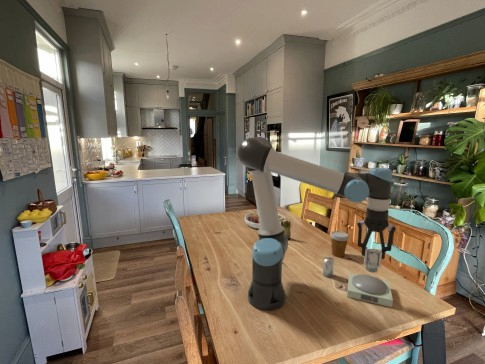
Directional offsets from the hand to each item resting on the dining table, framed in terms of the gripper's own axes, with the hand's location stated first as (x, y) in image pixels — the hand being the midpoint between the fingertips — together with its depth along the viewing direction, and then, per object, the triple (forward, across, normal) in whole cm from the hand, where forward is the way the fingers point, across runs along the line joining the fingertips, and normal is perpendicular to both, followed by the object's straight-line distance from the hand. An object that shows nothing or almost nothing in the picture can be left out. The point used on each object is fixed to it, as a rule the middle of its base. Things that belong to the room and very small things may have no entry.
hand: (372, 264), depth 103 cm
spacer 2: (+2, 0, 0) cm, 2 cm away
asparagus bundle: (+14, +46, -44) cm, 65 cm away
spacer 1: (+14, +17, -10) cm, 24 cm away
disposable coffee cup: (+14, +14, -34) cm, 40 cm away
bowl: (+15, +67, -65) cm, 94 cm away
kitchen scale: (+14, 0, -3) cm, 14 cm away
